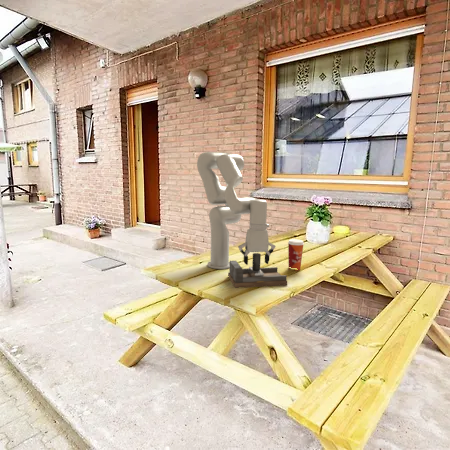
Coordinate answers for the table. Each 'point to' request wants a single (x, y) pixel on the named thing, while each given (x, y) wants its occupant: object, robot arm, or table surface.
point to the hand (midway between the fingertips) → (256, 263)
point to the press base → (244, 279)
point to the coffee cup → (295, 253)
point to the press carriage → (256, 266)
